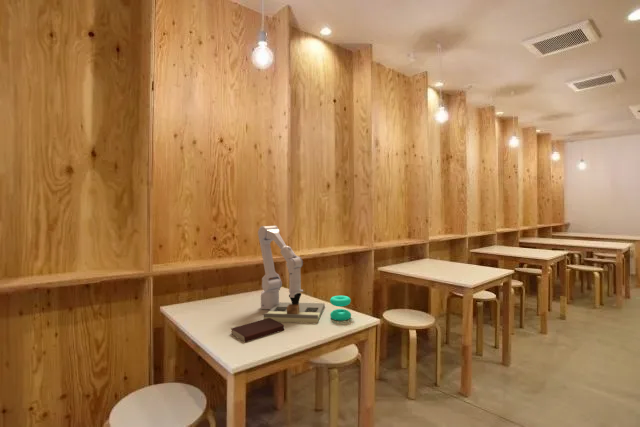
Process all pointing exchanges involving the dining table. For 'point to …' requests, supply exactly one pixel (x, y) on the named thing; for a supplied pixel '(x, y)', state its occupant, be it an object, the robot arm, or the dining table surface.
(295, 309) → the block
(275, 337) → the dining table surface
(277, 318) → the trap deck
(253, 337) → the book
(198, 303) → the dining table surface
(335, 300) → the donuts
